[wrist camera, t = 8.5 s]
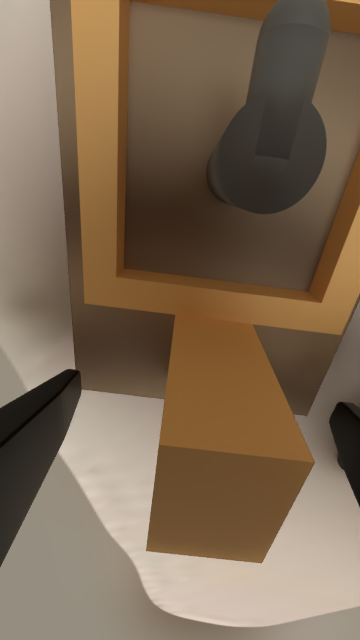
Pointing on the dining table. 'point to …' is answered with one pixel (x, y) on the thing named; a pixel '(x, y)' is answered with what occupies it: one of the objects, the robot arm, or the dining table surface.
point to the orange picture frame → (205, 318)
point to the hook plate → (179, 207)
